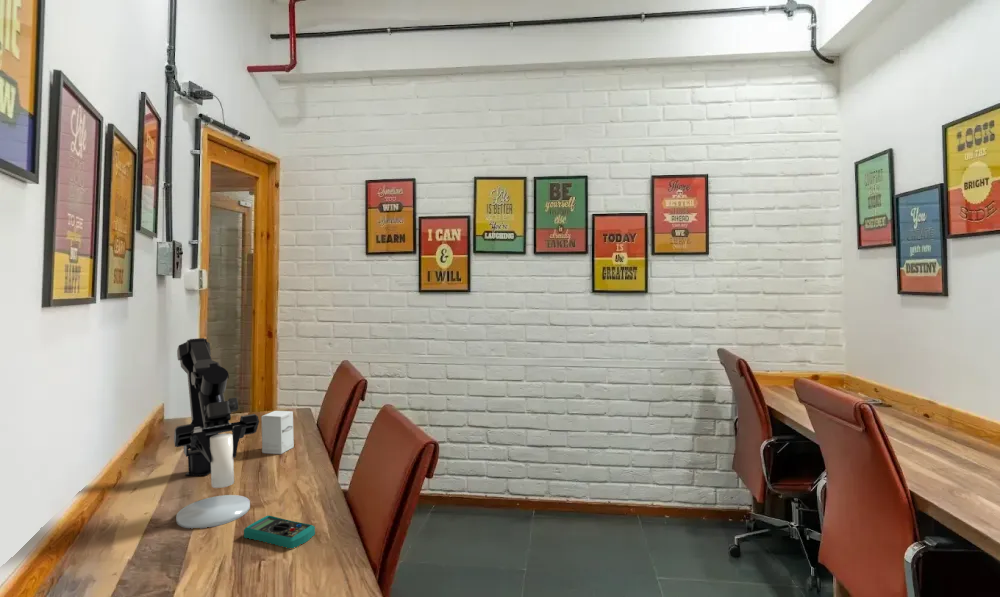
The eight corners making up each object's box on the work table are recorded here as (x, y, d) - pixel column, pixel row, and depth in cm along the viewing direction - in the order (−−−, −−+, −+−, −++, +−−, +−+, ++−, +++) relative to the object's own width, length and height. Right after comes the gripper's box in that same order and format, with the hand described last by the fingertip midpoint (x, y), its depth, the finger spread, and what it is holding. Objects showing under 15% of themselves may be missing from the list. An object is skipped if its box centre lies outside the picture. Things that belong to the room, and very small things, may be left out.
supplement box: (281, 454, 173) (280, 416, 173) (261, 453, 175) (260, 415, 174) (294, 447, 181) (293, 410, 180) (275, 446, 182) (274, 410, 182)
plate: (160, 528, 123) (160, 523, 123) (202, 499, 139) (202, 494, 139) (227, 528, 122) (227, 523, 122) (261, 499, 138) (261, 495, 138)
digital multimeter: (293, 552, 112) (293, 539, 112) (242, 539, 118) (241, 526, 118) (317, 536, 119) (317, 523, 119) (268, 525, 125) (267, 513, 125)
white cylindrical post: (206, 485, 130) (205, 437, 130) (225, 478, 135) (223, 432, 134) (220, 489, 128) (218, 440, 128) (238, 481, 133) (237, 434, 132)
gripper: (173, 393, 128) (181, 450, 120) (256, 383, 139) (268, 434, 131) (171, 419, 135) (178, 474, 126) (250, 407, 146) (261, 457, 138)
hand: (223, 459), depth 130 cm, fingers closed on white cylindrical post, 5 cm apart
